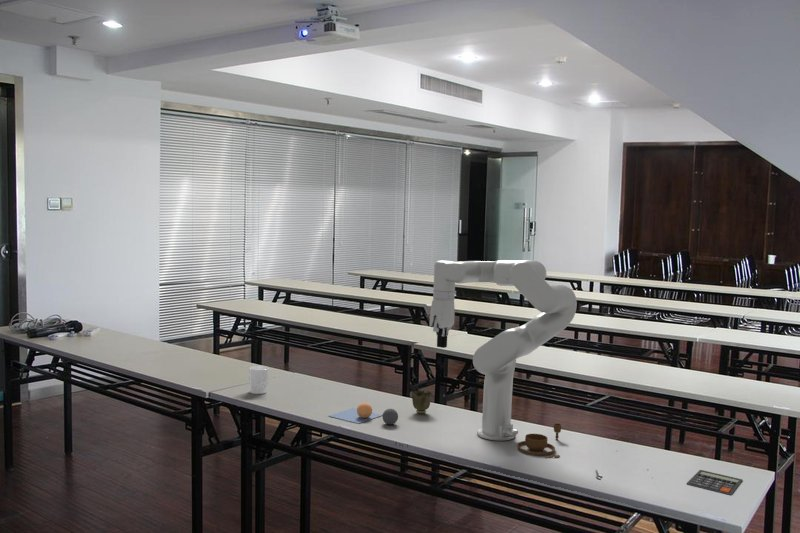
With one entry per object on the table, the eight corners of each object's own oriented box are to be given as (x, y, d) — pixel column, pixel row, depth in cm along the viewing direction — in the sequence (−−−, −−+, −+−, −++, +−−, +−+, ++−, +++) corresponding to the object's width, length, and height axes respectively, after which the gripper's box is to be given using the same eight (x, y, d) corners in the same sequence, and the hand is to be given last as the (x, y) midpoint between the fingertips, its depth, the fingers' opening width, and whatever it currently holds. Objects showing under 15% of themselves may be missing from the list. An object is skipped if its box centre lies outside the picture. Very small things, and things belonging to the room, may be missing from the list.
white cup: (246, 390, 282) (247, 366, 281) (265, 389, 285) (266, 365, 285) (251, 395, 275) (251, 370, 274) (270, 393, 278) (271, 369, 277)
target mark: (382, 415, 252) (382, 415, 252) (358, 423, 241) (358, 423, 241) (352, 408, 260) (352, 408, 260) (328, 416, 249) (328, 415, 249)
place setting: (505, 444, 226) (505, 426, 226) (556, 439, 233) (557, 422, 233) (534, 462, 210) (535, 443, 210) (588, 456, 217) (589, 438, 217)
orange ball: (369, 397, 249) (358, 403, 252) (361, 404, 245) (351, 410, 247) (377, 410, 249) (367, 416, 252) (370, 417, 244) (360, 423, 247)
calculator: (686, 482, 194) (700, 469, 206) (686, 486, 194) (699, 472, 206) (731, 493, 187) (742, 478, 199) (730, 497, 187) (742, 482, 199)
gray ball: (387, 404, 244) (383, 418, 246) (382, 409, 239) (378, 423, 240) (401, 409, 243) (398, 423, 244) (396, 414, 238) (393, 429, 239)
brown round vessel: (407, 414, 256) (408, 392, 255) (416, 409, 262) (417, 388, 262) (425, 417, 252) (426, 395, 252) (434, 412, 259) (435, 391, 258)
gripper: (445, 293, 252) (443, 343, 253) (423, 296, 240) (421, 348, 241) (463, 295, 248) (461, 345, 249) (441, 298, 236) (439, 351, 237)
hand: (441, 347), depth 245 cm, fingers closed
